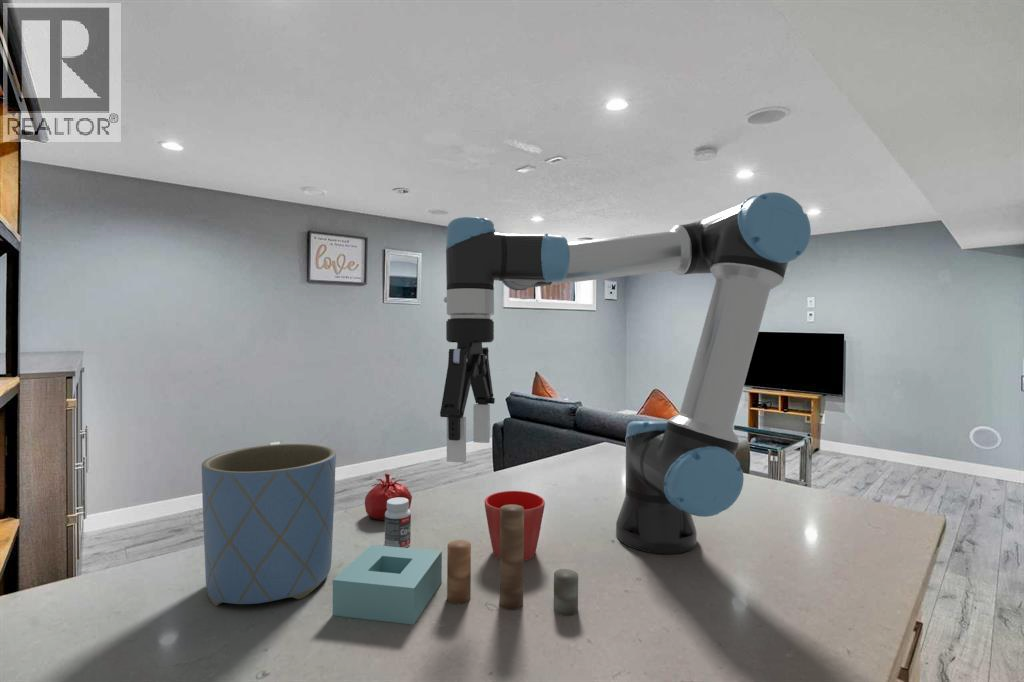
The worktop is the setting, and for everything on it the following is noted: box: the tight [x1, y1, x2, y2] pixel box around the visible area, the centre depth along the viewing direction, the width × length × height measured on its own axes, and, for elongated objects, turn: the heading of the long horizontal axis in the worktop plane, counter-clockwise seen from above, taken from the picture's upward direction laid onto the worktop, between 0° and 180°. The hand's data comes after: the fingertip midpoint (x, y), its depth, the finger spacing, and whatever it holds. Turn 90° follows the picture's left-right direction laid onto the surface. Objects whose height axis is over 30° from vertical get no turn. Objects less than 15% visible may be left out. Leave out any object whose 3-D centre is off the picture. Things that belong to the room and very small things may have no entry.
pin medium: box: [446, 539, 472, 605], centre depth 75 cm, size 4×4×8 cm
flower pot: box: [483, 490, 546, 562], centre depth 91 cm, size 11×11×10 cm
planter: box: [201, 443, 337, 607], centre depth 80 cm, size 19×19×20 cm
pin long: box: [498, 504, 525, 611], centre depth 74 cm, size 4×4×14 cm
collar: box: [332, 544, 443, 626], centre depth 75 cm, size 12×12×5 cm
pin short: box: [553, 568, 579, 617], centre depth 73 cm, size 4×4×5 cm
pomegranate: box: [364, 472, 413, 521], centre depth 109 cm, size 10×10×9 cm
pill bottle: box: [384, 497, 412, 548], centre depth 94 cm, size 5×5×8 cm
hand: (469, 451), depth 80 cm, fingers open, 13 cm apart
